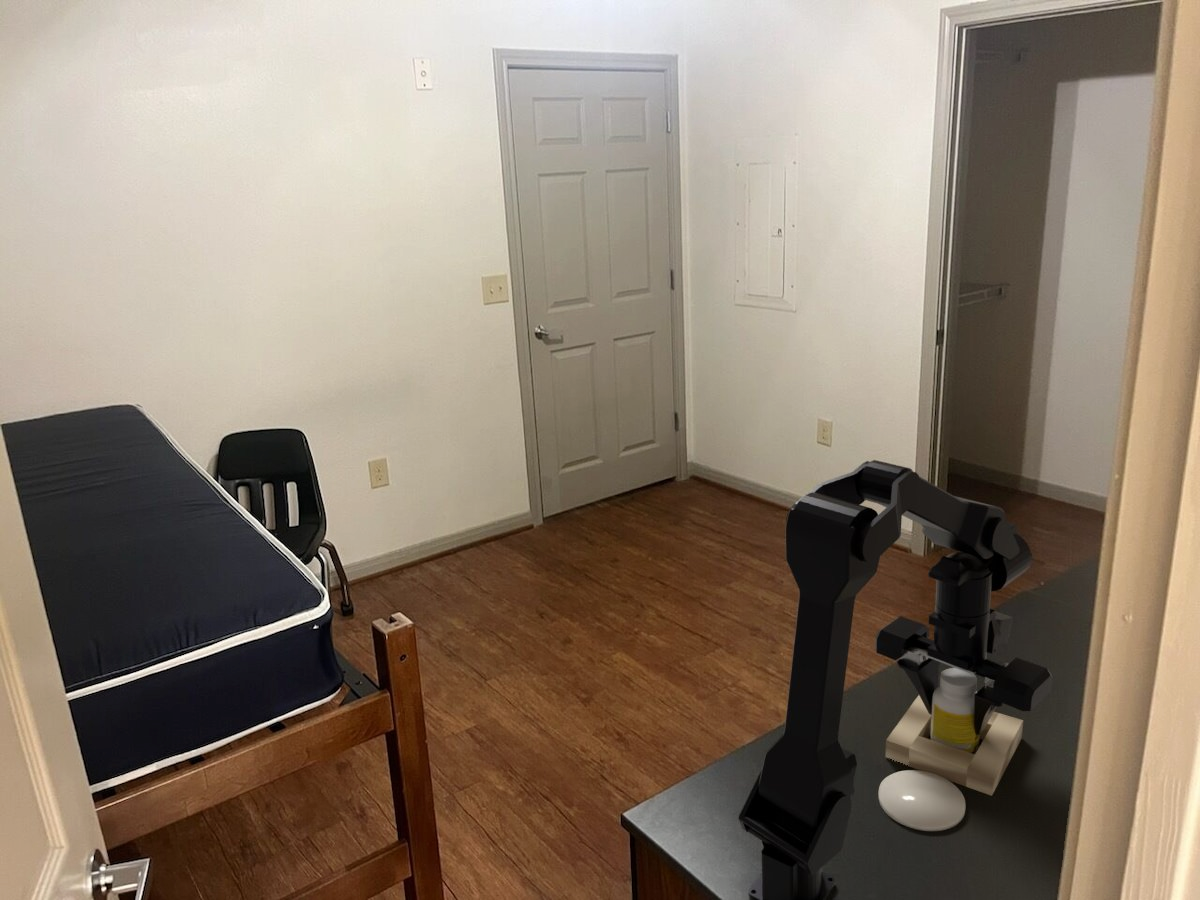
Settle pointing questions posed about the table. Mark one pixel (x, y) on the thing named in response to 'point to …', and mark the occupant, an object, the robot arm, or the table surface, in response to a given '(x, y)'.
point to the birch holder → (955, 749)
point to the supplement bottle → (955, 711)
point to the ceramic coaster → (922, 800)
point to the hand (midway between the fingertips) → (955, 722)
